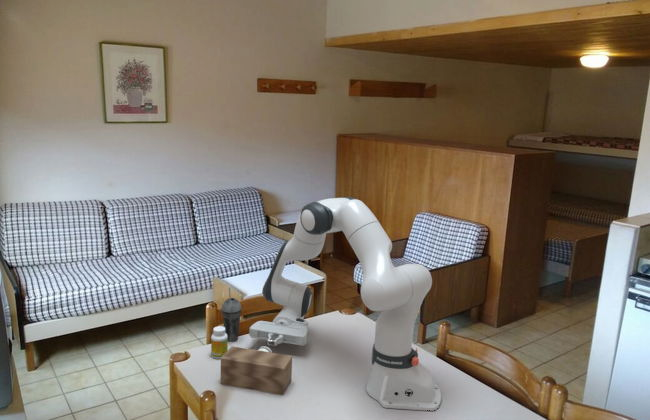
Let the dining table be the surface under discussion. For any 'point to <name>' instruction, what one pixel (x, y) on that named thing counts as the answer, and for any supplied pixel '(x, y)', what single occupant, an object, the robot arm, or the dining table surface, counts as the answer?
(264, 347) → the knob
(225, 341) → the supplement bottle
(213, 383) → the dining table surface
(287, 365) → the block
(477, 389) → the dining table surface
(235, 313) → the beverage cup
